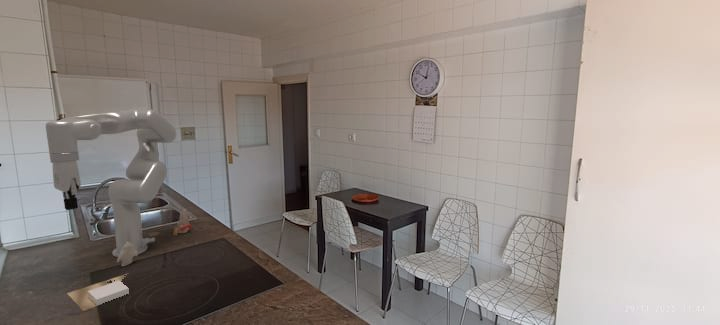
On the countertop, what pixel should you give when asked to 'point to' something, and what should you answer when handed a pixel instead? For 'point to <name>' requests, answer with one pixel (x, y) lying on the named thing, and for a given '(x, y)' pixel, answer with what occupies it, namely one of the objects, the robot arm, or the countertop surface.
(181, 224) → the figurine
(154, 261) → the countertop surface
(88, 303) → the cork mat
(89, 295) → the tile
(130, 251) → the arrowhead
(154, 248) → the countertop surface
